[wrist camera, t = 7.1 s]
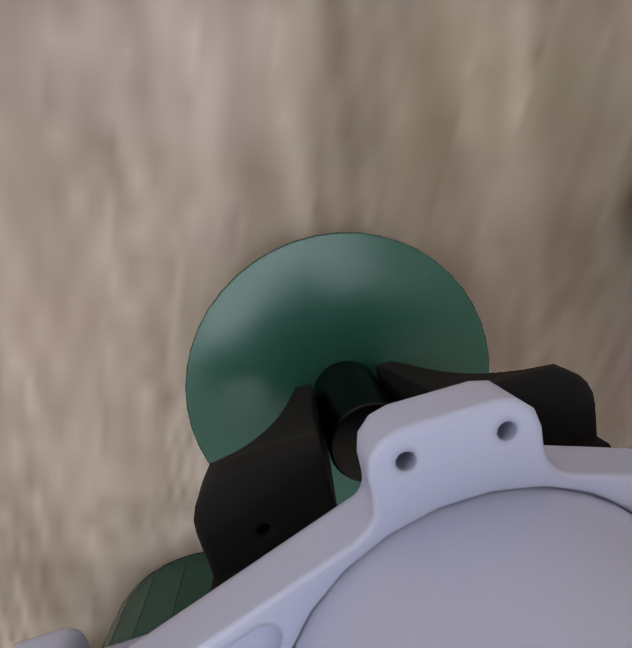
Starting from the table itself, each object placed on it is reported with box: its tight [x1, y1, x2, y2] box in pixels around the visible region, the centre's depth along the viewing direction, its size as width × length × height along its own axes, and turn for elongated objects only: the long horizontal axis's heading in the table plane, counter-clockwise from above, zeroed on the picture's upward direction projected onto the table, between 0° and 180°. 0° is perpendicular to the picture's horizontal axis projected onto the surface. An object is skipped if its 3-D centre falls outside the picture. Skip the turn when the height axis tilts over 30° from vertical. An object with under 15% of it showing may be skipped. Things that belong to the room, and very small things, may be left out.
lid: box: [185, 232, 489, 506], centre depth 13 cm, size 12×12×5 cm
